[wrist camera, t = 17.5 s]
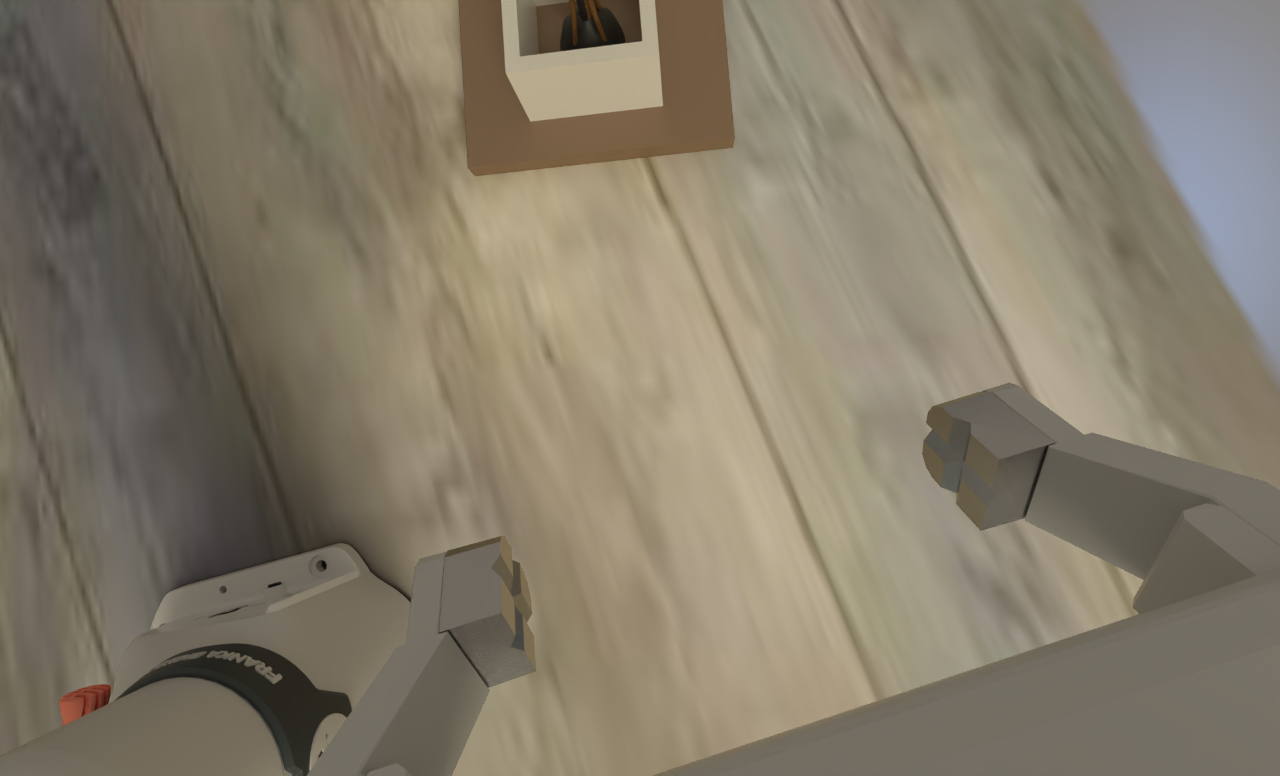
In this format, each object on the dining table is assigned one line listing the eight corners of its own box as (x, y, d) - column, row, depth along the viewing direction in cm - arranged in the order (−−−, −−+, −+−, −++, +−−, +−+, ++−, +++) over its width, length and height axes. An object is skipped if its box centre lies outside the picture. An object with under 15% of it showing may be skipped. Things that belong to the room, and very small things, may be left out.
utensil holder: (475, 175, 45) (433, 126, 38) (464, -18, 46) (421, -104, 39) (732, 147, 44) (742, 90, 36) (715, -53, 45) (720, -148, 37)
